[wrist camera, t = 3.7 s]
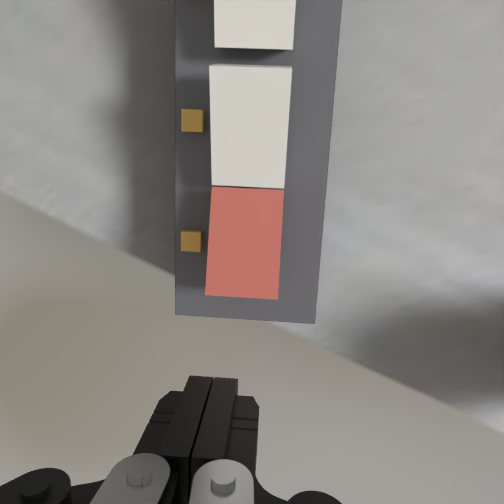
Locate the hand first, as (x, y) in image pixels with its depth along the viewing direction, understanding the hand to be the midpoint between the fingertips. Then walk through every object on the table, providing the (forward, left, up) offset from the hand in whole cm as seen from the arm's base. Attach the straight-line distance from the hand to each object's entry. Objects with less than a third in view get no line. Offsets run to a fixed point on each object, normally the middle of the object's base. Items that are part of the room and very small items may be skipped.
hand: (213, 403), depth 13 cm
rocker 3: (-2, 0, -13) cm, 13 cm away
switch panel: (-9, 0, -17) cm, 19 cm away
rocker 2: (-9, 0, -13) cm, 16 cm away
